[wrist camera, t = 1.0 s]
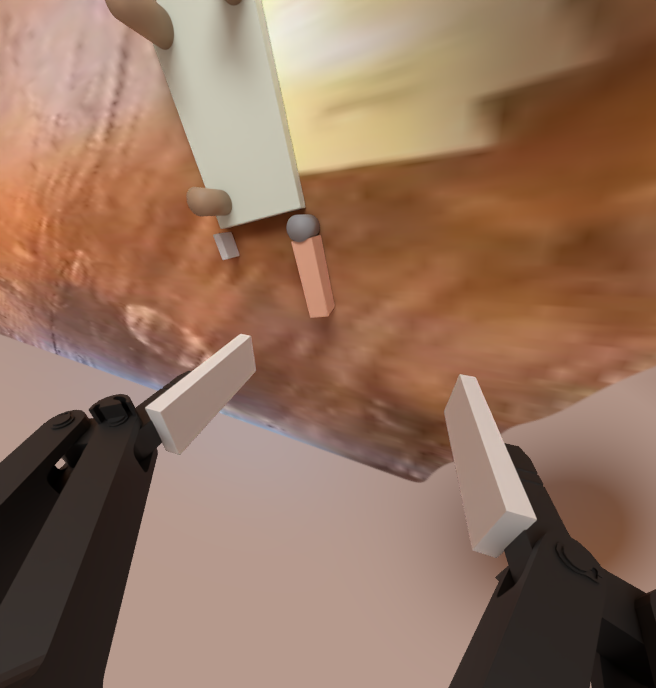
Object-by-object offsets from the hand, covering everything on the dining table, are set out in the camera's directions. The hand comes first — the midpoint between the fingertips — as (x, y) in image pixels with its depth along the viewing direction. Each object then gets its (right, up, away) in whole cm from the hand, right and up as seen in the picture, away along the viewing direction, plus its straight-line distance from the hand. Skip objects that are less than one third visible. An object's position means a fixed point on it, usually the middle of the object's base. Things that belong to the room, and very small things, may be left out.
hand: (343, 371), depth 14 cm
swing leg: (-2, +12, +16) cm, 20 cm away
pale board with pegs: (-11, +23, +12) cm, 28 cm away
